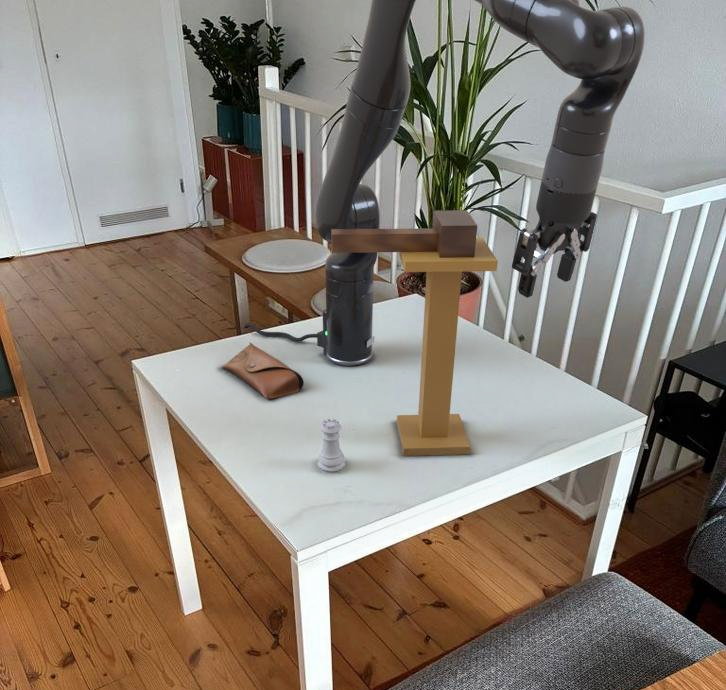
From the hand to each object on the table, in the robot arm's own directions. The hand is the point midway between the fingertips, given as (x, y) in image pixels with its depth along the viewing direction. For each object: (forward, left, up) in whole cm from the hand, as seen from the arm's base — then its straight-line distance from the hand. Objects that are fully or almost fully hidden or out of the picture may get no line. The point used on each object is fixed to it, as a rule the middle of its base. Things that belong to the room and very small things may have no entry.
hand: (544, 287), depth 111 cm
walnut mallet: (-15, -16, +6) cm, 23 cm away
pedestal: (-11, -12, -26) cm, 30 cm away
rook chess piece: (-17, -29, -26) cm, 43 cm away
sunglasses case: (-49, -16, -26) cm, 58 cm away
